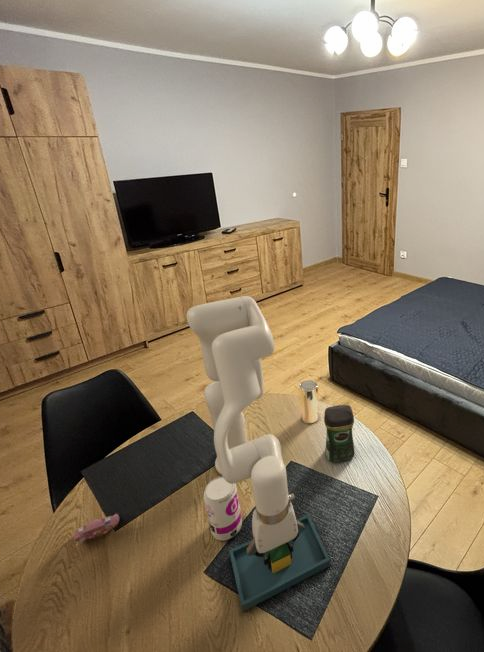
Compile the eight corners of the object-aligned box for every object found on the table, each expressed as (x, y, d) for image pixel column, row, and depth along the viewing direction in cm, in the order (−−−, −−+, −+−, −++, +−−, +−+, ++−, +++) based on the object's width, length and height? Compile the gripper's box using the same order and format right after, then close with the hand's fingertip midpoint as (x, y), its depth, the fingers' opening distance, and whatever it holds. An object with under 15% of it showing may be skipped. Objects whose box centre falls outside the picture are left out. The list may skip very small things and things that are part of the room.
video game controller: (79, 548, 97) (70, 542, 92) (78, 529, 99) (70, 523, 94) (121, 531, 101) (115, 525, 96) (120, 513, 103) (114, 507, 98)
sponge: (264, 547, 94) (263, 535, 92) (282, 539, 96) (280, 527, 94) (273, 573, 88) (271, 561, 86) (291, 564, 90) (290, 552, 88)
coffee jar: (351, 443, 128) (351, 399, 120) (356, 460, 121) (356, 415, 113) (323, 447, 126) (322, 403, 119) (327, 465, 119) (326, 420, 112)
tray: (230, 556, 93) (229, 550, 92) (309, 519, 102) (308, 514, 101) (242, 612, 82) (241, 606, 81) (330, 565, 90) (330, 559, 89)
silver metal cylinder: (316, 425, 136) (315, 392, 130) (298, 423, 137) (296, 390, 131) (321, 413, 142) (320, 380, 136) (304, 411, 144) (302, 378, 138)
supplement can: (248, 518, 102) (242, 479, 96) (230, 546, 95) (223, 505, 89) (223, 509, 105) (215, 471, 99) (204, 536, 98) (195, 496, 92)
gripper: (301, 480, 90) (305, 530, 98) (231, 508, 84) (241, 560, 91) (313, 504, 84) (316, 556, 91) (239, 537, 77) (248, 590, 84)
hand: (278, 557), depth 91 cm, fingers closed on sponge, 4 cm apart
